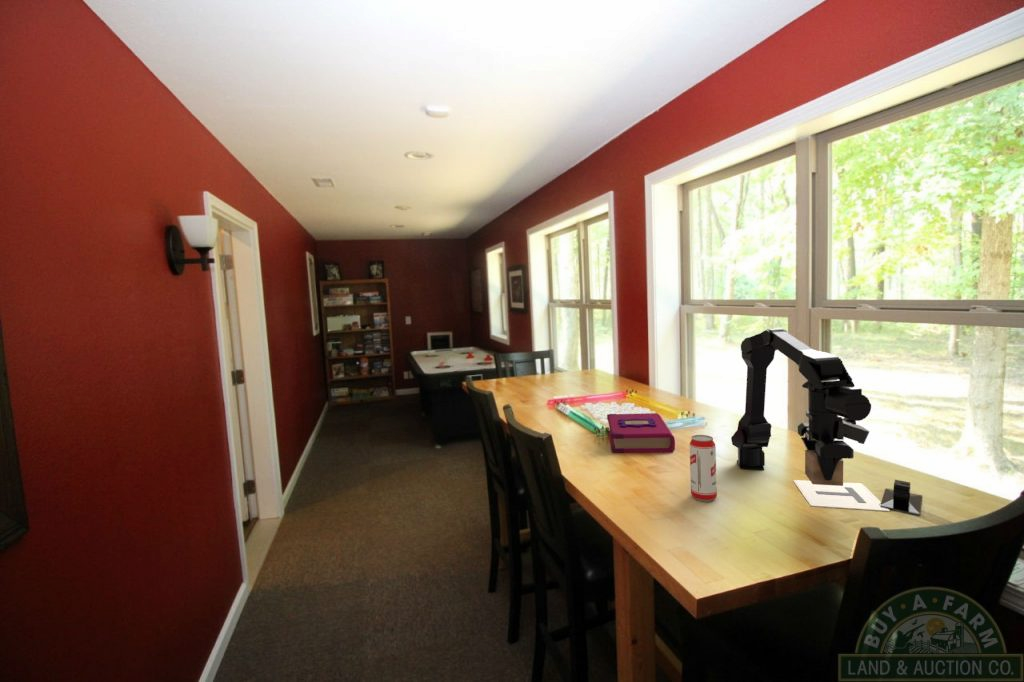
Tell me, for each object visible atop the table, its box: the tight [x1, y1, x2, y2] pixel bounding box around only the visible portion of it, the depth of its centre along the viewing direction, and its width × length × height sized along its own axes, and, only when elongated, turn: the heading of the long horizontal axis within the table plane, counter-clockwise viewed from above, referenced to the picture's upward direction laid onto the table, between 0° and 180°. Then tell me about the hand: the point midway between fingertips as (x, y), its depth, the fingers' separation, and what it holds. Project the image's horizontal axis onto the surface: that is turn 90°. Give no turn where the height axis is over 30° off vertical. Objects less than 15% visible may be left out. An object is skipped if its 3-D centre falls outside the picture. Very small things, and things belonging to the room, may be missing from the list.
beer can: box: [689, 434, 718, 503], centre depth 120 cm, size 6×6×16 cm
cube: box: [804, 449, 844, 486], centre depth 109 cm, size 6×6×6 cm
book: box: [606, 412, 676, 454], centre depth 171 cm, size 21×28×8 cm
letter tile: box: [792, 479, 891, 512], centre depth 118 cm, size 16×16×1 cm
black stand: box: [879, 479, 923, 516], centre depth 111 cm, size 12×7×5 cm, turn 137°
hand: (823, 474), depth 109 cm, fingers closed on cube, 6 cm apart
